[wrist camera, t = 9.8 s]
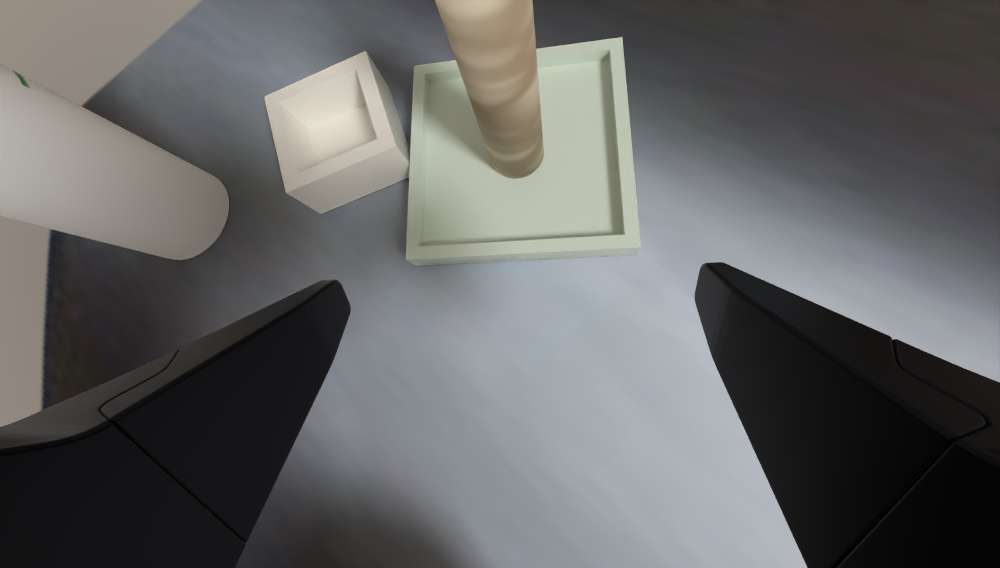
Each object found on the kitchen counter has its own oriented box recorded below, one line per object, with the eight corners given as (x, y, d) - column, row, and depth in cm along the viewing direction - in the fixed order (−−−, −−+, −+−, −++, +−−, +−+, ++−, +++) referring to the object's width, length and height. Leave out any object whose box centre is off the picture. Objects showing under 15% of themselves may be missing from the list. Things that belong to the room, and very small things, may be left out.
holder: (417, 173, 26) (396, 146, 22) (321, 214, 26) (285, 192, 23) (389, 88, 28) (365, 50, 24) (299, 128, 28) (264, 96, 25)
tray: (635, 254, 22) (640, 247, 21) (415, 265, 24) (405, 259, 23) (618, 56, 25) (622, 37, 24) (422, 82, 27) (413, 65, 26)
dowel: (512, 189, 24) (447, -41, 10) (480, 152, 24) (380, -105, 11) (555, 155, 24) (548, -121, 10) (521, 119, 24) (473, -178, 11)
